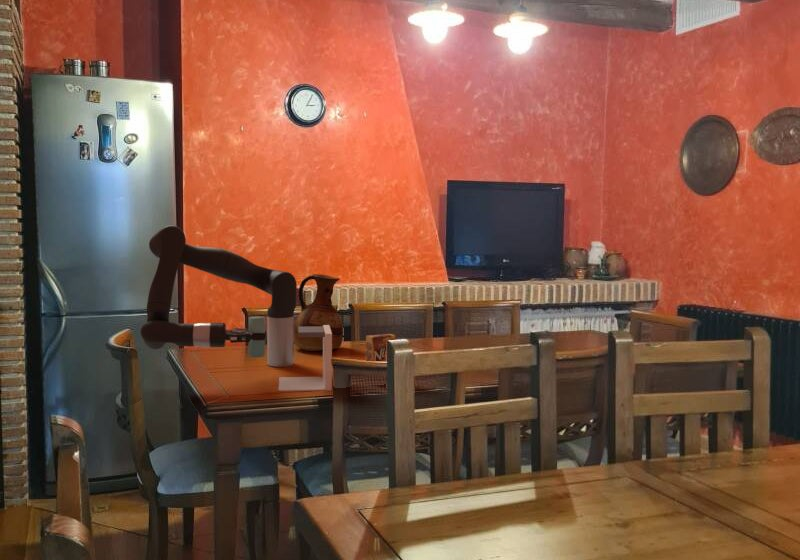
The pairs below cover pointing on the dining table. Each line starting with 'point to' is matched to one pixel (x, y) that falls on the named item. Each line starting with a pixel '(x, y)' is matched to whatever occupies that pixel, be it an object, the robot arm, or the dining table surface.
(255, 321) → the post
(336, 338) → the ceramic pitcher
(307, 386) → the stand
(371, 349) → the candy box
